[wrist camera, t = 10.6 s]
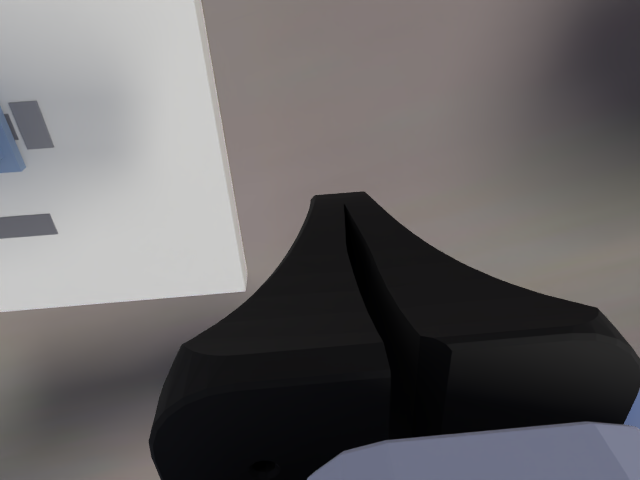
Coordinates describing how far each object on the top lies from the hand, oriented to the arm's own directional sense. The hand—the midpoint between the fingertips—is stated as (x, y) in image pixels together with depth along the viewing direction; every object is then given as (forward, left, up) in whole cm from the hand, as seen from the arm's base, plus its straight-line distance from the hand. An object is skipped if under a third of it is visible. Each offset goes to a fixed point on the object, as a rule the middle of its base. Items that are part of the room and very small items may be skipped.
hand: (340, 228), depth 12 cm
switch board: (0, +12, -9) cm, 15 cm away
